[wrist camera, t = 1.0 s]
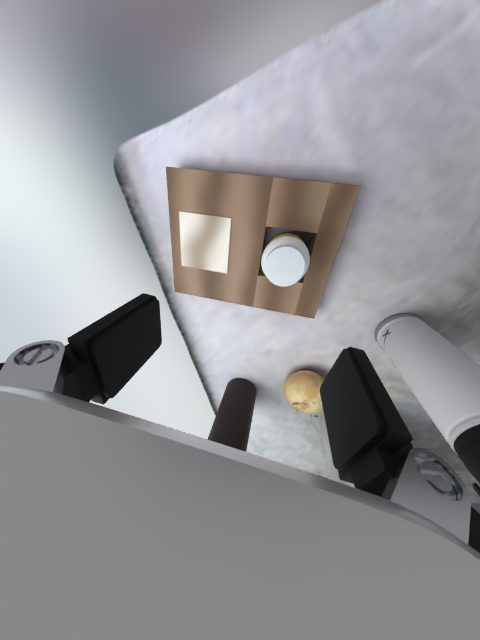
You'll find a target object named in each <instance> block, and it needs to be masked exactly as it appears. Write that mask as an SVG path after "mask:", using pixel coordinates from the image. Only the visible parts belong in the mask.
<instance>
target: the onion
mask: <svg viewBox="0 0 480 640" xmlns="http://www.w3.org/2000/svg"><path fill="white" fill-rule="evenodd" d="M323 381H324V379H323V378H322V377H321V376H320V375H318V374H317V373H316V372H313V371H308V370H301V371H297V372H295V373H293V374H291V375H290V376H289V377H288V378H287V379H286V381H285V383H284V395H285V397H286V399H287V401H288V402H289V404H290V405H291V406H292V407H293V408H294V409H296V411H297V410H298V411H300V412H303V413H316V412H320V411H321V410H323V407H322V401H321V396H320V387H321V385H322V383H323ZM298 411H297V412H296V413H295V414H297V413H298Z"/></svg>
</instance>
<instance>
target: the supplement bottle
mask: <svg viewBox="0 0 480 640" xmlns="http://www.w3.org/2000/svg"><path fill="white" fill-rule="evenodd" d="M309 263H310V255H309V251H308V249H307V247H306V245H305V244H304V242H303V241H302V239H301V238H300V237H299V236H297V235H296V234H294V233H290V232H285V233H281V234H278V235H277V236H275V237H274V238H273V239H272V240H271V241H270V243H269V244H268V245H267V246H266V248H265V250H264V252H263V254H262V259H261V266H262V270H263V272H264V274H265V276H266V277H267V278H268V279H269V281H270V282H272V283H273V284H275V285H277V286H282V287H285V286H290V285H293V284H295V283H296V282H297V281H299V280H300V279H301V278H302V277H303V276H304V275H305V273H306V272H307V270H308V267H309Z"/></svg>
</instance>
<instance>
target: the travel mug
mask: <svg viewBox="0 0 480 640" xmlns="http://www.w3.org/2000/svg"><path fill="white" fill-rule="evenodd" d="M375 339H376V341H377V343H378V344H379V345H380V347H381V348H382V350H383V351H384V353H385V354H386V355H387V357H388V358H389V360H390V361H391V363H392V364H393V365H394V367H395V368H396V370H397V371H398V372H399V374H400V375H401V377H402V378H403V380H404V381H405V382H406V384H407V385H408V387H409V388H410V389H411V391H412V392H413V394H414V395H415V397H416V398H417V399H418V401H419V402H420V404H421V405H422V407H423V408H424V409H425V411H426V412H427V414H428V415H429V416H430V418H431V419H432V421H433V422H434V424H435V425H436V426H437V428H438V429H439V431H440V432H441V434H442V435H443V436H444V438H445V439H446V441H447V442H448V443H449V444H450V446H451V448H452V449H453V451H454V452H455V453H456V454H457V455H458V456H459V458H460V459H461V460H462V461H463V462H464V465H465V466H466V468H467V469H468V470H469V472H470V473H471V474H472V475H473V476H474V477H475V478H476V479H477V481H478V482H479V483H480V365H479V364H477V363H476V362H475V361H474V360H472V359H471V358H470V357H468V356H467V355H466V354H465V353H463V352H462V351H461V350H459V349H458V348H457V347H456V346H454V345H453V344H452V343H451V342H449V341H448V340H447V339H445V338H444V337H443V336H442V335H440V334H439V333H438V332H436V331H435V330H434V329H433V328H431V327H430V326H429V325H428V324H426V323H425V322H424V321H422V320H421V319H420V318H419V317H417V316H415V315H411V314H398V315H394V316H391V317H389V318H387V319H385V320H384V321H382V322H381V323H380V324H379V325H378V327H377V328H376V331H375ZM473 488H474V490H475V491H476V492H477V494H478V495H479V496H480V488H479V486H478V485H477V484H476V483H473Z"/></svg>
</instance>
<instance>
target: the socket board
mask: <svg viewBox="0 0 480 640" xmlns="http://www.w3.org/2000/svg"><path fill="white" fill-rule="evenodd" d="M166 174H167V188H168V202H169V216H170V230H171V244H172V258H173V272H174V286H175V292H179V293H184V294H189V295H194V296H199V297H205V298H210V299H215V300H220V301H225V302H231V303H236V304H241V305H246V306H251V307H256V308H262V309H267V310H272V311H277V312H282V313H287V314H293V315H298V316H303V317H308V318H313V319H314V317H315V314H316V312H317V309H318V306H319V303H320V300H321V297H322V294H323V292H324V289H325V286H326V283H327V280H328V277H329V275H330V272H331V269H332V266H333V263H334V260H335V257H336V255H337V252H338V249H339V246H340V243H341V240H342V237H343V235H344V232H345V229H346V226H347V223H348V220H349V218H350V215H351V212H352V209H353V206H354V203H355V200H356V198H357V195H358V192H359V189H360V186H359V185H348V184H338V183H328V182H318V181H307V180H297V179H287V178H276V177H266V176H256V175H246V174H235V173H225V172H215V171H205V170H194V169H184V168H174V167H166ZM268 227H274V228H281V229H289V230H296V231H304V232H311V233H314V234H313V238H312V241H311V245H310V249H309V255H310V263H309V267H308V270H307V272H306V273H305V275H304V276H303V277H302V278H301V279H300V280H299V281H297V282H296V283H295V284H293V285H290V286H285V287H282V286H277V285H275V284H273V283H272V282H270V281H269V279H268V278H267V277H266V276H265V274H264V272H263V271H262V270H261V259H262V254H263V252H264V246H265V240H266V234H267V228H268Z"/></svg>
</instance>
